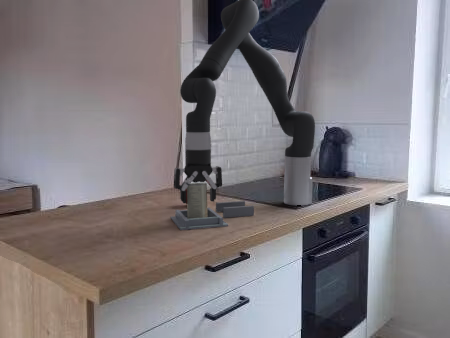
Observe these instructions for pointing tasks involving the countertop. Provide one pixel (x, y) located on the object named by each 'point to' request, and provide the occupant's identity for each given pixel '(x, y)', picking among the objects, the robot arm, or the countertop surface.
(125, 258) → the countertop surface
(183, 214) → the grey square tray
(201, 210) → the box
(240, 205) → the slot
